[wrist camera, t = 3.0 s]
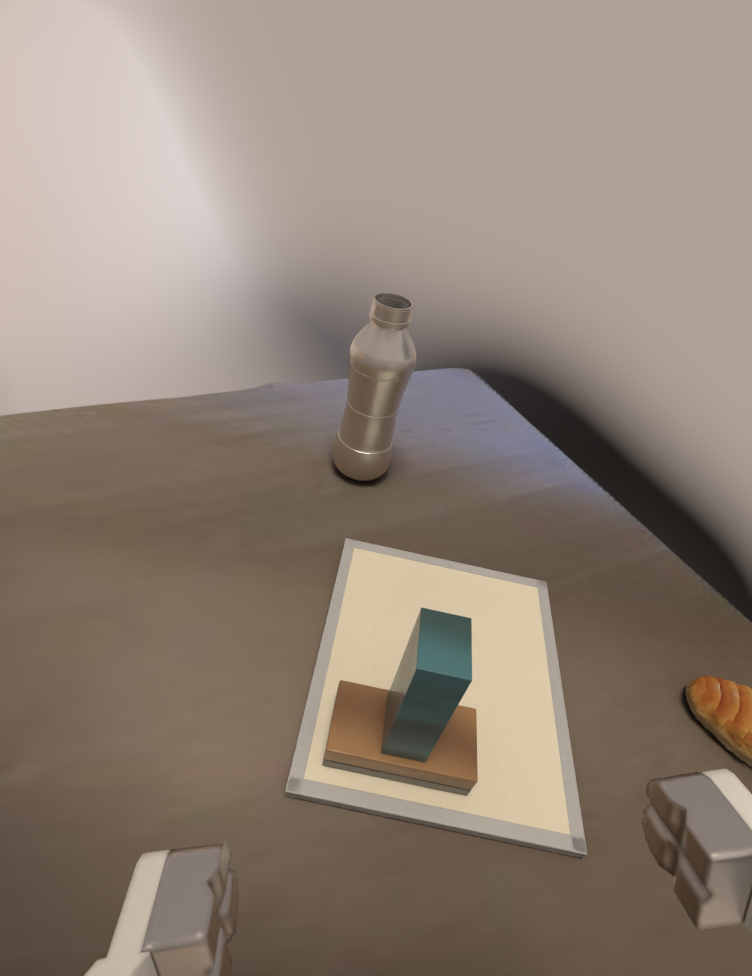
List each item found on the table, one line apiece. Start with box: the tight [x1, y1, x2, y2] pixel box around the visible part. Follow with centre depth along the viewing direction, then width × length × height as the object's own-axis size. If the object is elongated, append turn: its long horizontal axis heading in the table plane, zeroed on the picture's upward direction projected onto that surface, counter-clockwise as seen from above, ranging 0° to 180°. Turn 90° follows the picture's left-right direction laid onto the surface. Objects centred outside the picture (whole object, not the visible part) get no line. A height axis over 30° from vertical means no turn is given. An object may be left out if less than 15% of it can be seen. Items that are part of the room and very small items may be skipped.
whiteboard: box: [284, 538, 587, 858], centre depth 44 cm, size 23×20×1 cm
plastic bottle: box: [333, 292, 416, 481], centre depth 55 cm, size 6×7×20 cm
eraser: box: [322, 608, 478, 796], centre depth 34 cm, size 5×10×13 cm, turn 83°
